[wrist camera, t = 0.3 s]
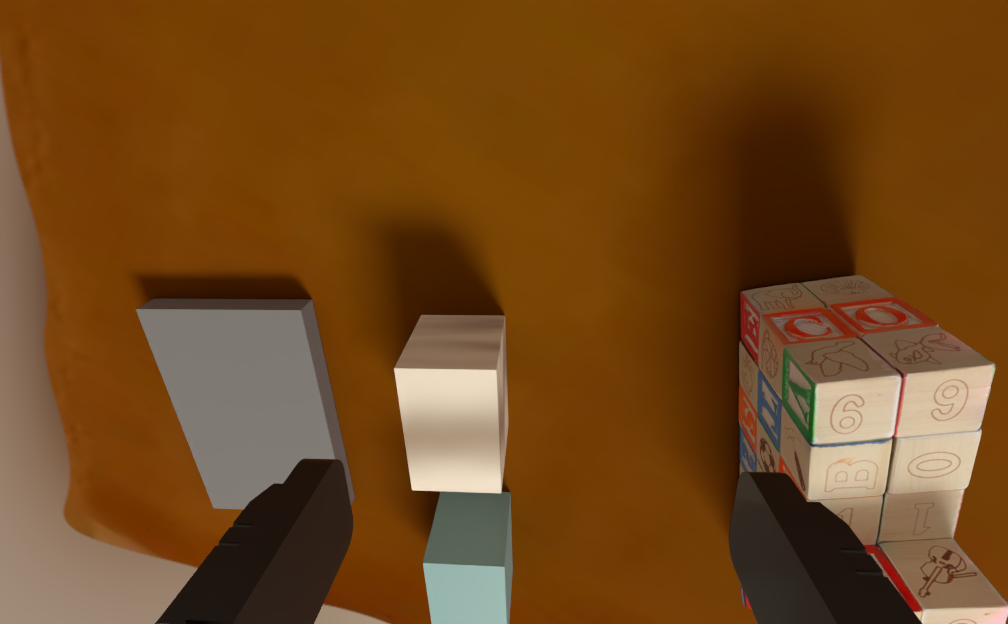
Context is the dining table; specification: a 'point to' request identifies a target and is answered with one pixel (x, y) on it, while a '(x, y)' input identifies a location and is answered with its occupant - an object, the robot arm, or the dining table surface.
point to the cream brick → (455, 403)
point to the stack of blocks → (871, 428)
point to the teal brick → (470, 559)
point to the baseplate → (246, 389)
